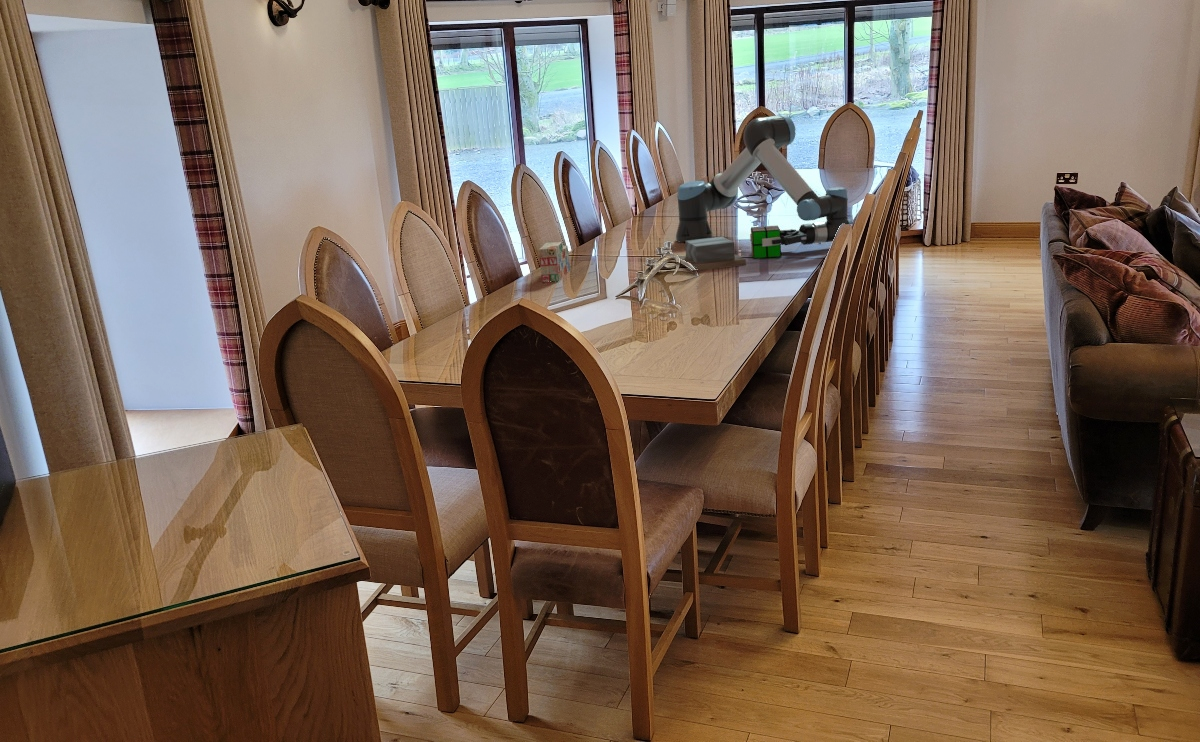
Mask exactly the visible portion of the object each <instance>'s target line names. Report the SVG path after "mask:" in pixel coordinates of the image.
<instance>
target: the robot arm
mask: <svg viewBox="0 0 1200 742" xmlns="http://www.w3.org/2000/svg"><path fill="white" fill-rule="evenodd" d="M795 138H796V125H795V123H794V121H793V120H792V118H791V117H790V116H788V115H785V114H776V115H772V116H771V115H770V116H764V117H756V118H754V119H752V120H750V121H749V122H748V123H747V124H746V126H745V128H744V131H743V142H744V146H745V148H744V149H743V150H742V151H741V152H740V154H738V156H737V157H736V158H735V159H734V160H733V161H732V162H731V163H730V164H729V166H727V168H726V169H725V170H723V172H720V173H717V174H715V176H714V177H713V178H711V180H710V181H709V182H705V181H704V180H694V181H688V182H685V183H682V184H681V185H679V186H678V188H677V195H676V196H677V206H678V207H677V209H678V220H679V221H678V222H679V223H678V226H677V229H676V230H677V231H676V235H675V241H676V240H677V241H680V242H679V243H683V242H685V241H688V240H696V239H705V238H713V232H712V229H711V226H710V223H709V221H708V212H711V211H717V210H724V209H727V208H730V207H731V206H733V204H735V202H736V200H737V197H738V196H737V195H738V192H739V187H740V186H741V185H742V183H743V182H745V180H747V178H748V177H749V176H750V175H752V173H753V172H754V171H755V170H756V169H757V168H758V167H759V166H760V164H762V165H763V166H764V168H765V169H766V170H767V172H768V173H770V174H771V176H772V178H774V179H775V181H776V182H777V183H778V184H779V185H780V187H781V188H782V189H783V190H784V191H785V193H786V194H787V195H788V196H789V198H790V199H792V201H793V202H794V203H795V204H796V212H797V216H798V217H799V219H801V220H802V221H807V222H808V221H815V220H818V219H822V218H826V221H820V222H819V221H818V222H812V223H806V224H805V223H804V224H801V225H800V226H799V228H798V230H797V229H793V228H791V229H780V237H781V239H780V237H774V238H765V239H762V246H763V247H764V246H773V245H780V244H781V246H783V245H784V246H789V245H793V244H797V243H801V244H802V245H803V246H806V245H812V244H818V245H822V243H823V244H824V243H830V242H831V243H832V241H833V239H834V237H835V234H836V232H837V230H838V228H839V226H840V225H841V224H842V223H845V224H853V223H854V221H853V220H852V219H850V218H848V200H849V199H848V190H847V188H846V187H842V186H841V187H829V188H827V189H826V190H825V195H822V196H821V195H820V196H818V195H817V193H815V191H814V190H813V189H812V187H811V186H810V185H809V184H808V183H807V182H806V180H805V179H804V178H803V177H802V175H800V174H799V172H798V171H797V170H796V169H795V168H794V166H792V164H791V163H790V161H788V159H786V157H785V156H784V155H783V153H782V152H781V151H780V150H781V148H783V147H787V146H789V145H791V144H792V143H793V142H794V141H795ZM749 236H750V238H749V239H750V240H749V241H750V242H751V233H750V235H749ZM677 241H676V242H677ZM833 242H834V241H833Z"/></svg>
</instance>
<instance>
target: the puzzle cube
mask: <svg viewBox="0 0 1200 742" xmlns="http://www.w3.org/2000/svg"><path fill="white" fill-rule="evenodd" d="M780 230H781V229H780V227H779V226H778V225H765V226H751V227H750V234H751V241H750V242H751V243H750V245H751V256H752V258H753V260H754V259H755V260H757V259H769V258H781V257H782V245H781V243H780V245H773V246H764V247H763V246H762V239H765V238H774V237H780ZM780 239H781V237H780Z"/></svg>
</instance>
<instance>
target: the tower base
mask: <svg viewBox="0 0 1200 742" xmlns="http://www.w3.org/2000/svg"><path fill="white" fill-rule="evenodd" d="M735 251H736V250H735V241H732V240H730V239H728V238H726V237H724V236H715V237H712V238H705V239H696V240H688V241H685V255H679V256H678V257H679V258H680V259H682V260H685V261H686V262H689V263H691V264H692V265H693V266H695V267H697V268H698V270H699V271H708V270H713V269H723V268H730V267H731V268H732V267H739V266H746V265H747V260H746V258H744V257H742V256H740V255H738V254H736V253H735Z"/></svg>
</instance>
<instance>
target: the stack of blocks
mask: <svg viewBox="0 0 1200 742" xmlns="http://www.w3.org/2000/svg"><path fill="white" fill-rule="evenodd" d="M538 253H539V264H540V271H541V272H540V273H541V283H542V282H546V283H551V282H550V281H559V282H561V280H563V278H564V277H565V276H566V274H567V273H569V271H570V270H571V266H570V265H571V264H570V257H569V249H568V245H563V242H562V241H555V242H554V241H553V242H545V243H544V244H543V245H542V246H541V247H540V248H539V249H538ZM564 275H565V276H564ZM548 281H549V282H548Z"/></svg>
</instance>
